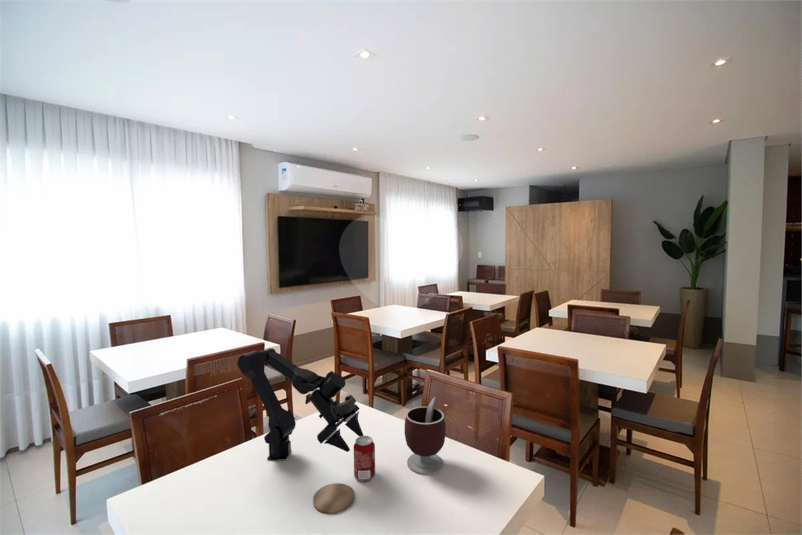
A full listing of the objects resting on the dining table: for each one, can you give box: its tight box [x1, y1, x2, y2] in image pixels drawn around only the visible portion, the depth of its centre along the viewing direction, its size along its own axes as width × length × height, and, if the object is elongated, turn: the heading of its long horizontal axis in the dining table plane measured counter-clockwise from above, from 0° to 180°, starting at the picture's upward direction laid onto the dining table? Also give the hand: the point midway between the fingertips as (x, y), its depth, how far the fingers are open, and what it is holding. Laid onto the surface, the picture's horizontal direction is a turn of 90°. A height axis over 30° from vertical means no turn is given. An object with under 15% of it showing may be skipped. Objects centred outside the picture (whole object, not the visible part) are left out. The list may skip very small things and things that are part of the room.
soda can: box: [353, 435, 376, 482], centre depth 119 cm, size 7×7×12 cm
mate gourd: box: [404, 396, 447, 476], centre depth 126 cm, size 16×14×20 cm
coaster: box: [312, 482, 356, 515], centre depth 108 cm, size 12×12×1 cm
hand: (355, 443), depth 119 cm, fingers open, 9 cm apart
